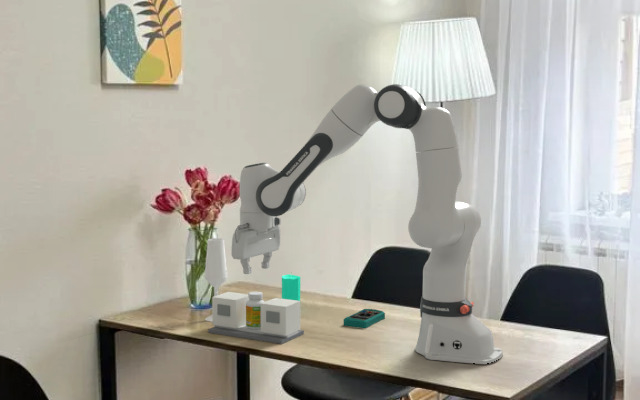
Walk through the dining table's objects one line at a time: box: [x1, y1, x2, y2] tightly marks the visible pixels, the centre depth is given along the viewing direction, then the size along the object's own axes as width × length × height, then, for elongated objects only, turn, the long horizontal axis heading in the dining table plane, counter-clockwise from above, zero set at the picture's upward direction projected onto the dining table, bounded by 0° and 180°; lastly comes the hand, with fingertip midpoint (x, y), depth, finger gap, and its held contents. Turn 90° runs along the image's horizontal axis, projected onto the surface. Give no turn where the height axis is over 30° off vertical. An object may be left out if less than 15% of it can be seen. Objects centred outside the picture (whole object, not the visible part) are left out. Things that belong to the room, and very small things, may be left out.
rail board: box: [207, 291, 305, 345], centre depth 252 cm, size 24×12×10 cm, turn 62°
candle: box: [281, 273, 301, 302], centre depth 281 cm, size 6×6×12 cm
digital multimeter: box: [342, 308, 386, 330], centre depth 267 cm, size 7×15×3 cm, turn 152°
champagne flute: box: [204, 237, 228, 323], centre depth 267 cm, size 7×7×24 cm
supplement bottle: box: [246, 291, 266, 329], centre depth 252 cm, size 5×5×10 cm
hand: (256, 270), depth 250 cm, fingers open, 8 cm apart
